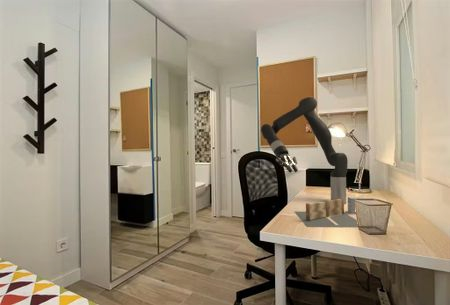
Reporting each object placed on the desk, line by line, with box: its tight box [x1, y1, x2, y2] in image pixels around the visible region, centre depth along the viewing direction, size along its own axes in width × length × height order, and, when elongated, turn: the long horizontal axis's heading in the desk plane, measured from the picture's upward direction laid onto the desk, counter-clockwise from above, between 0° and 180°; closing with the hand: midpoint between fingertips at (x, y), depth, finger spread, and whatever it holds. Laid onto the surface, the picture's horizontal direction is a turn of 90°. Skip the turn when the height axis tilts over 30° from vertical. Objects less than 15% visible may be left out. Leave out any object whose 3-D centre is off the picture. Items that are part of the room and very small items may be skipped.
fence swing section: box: [305, 201, 326, 220], centre depth 113 cm, size 13×2×8 cm, turn 115°
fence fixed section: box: [323, 198, 345, 217], centre depth 119 cm, size 14×2×9 cm, turn 115°
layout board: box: [294, 211, 359, 228], centre depth 113 cm, size 26×27×1 cm
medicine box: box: [347, 196, 366, 215], centre depth 123 cm, size 8×4×9 cm, turn 84°
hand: (293, 171), depth 122 cm, fingers open, 3 cm apart
